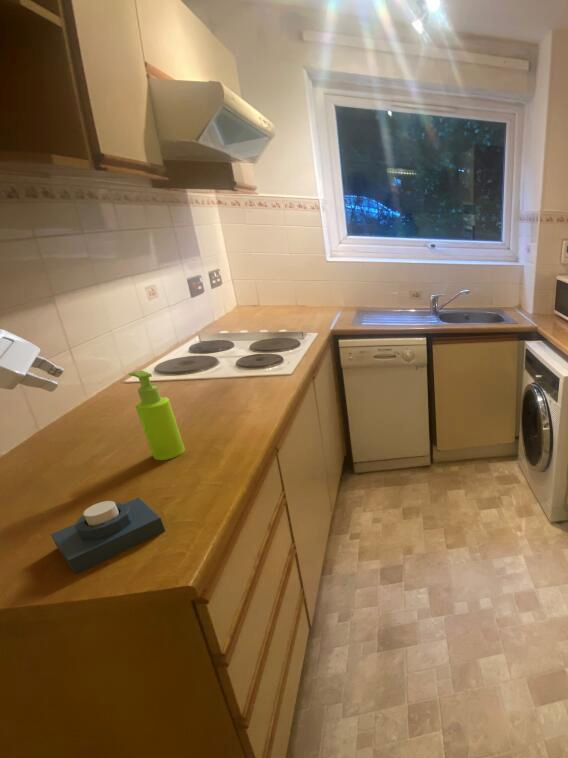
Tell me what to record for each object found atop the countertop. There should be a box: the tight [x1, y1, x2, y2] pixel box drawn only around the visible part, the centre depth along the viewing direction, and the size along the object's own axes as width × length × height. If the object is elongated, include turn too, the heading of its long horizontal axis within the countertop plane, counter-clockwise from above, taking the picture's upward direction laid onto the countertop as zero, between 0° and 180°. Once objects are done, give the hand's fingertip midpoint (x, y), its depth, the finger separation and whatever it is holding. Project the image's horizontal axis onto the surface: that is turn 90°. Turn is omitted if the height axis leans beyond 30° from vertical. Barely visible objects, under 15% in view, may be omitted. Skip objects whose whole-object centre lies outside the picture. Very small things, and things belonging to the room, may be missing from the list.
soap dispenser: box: [128, 370, 186, 461], centre depth 97 cm, size 6×7×20 cm
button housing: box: [50, 497, 166, 575], centre depth 74 cm, size 12×10×5 cm
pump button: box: [82, 500, 119, 526], centre depth 73 cm, size 4×4×2 cm
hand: (59, 380), depth 86 cm, fingers open, 8 cm apart
